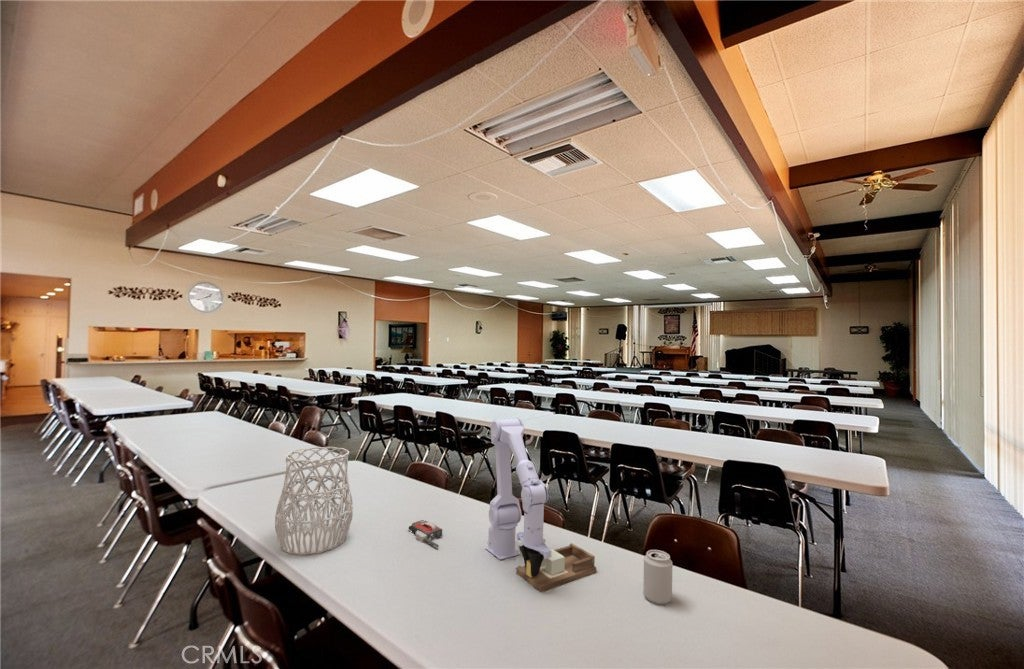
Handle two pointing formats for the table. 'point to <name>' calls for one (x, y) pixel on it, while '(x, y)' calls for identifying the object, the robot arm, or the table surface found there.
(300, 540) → the vase
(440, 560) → the table surface
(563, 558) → the block
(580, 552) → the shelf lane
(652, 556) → the can
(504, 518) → the robot arm
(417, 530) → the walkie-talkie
